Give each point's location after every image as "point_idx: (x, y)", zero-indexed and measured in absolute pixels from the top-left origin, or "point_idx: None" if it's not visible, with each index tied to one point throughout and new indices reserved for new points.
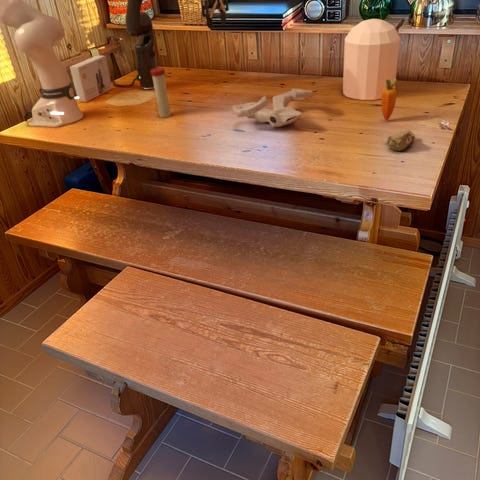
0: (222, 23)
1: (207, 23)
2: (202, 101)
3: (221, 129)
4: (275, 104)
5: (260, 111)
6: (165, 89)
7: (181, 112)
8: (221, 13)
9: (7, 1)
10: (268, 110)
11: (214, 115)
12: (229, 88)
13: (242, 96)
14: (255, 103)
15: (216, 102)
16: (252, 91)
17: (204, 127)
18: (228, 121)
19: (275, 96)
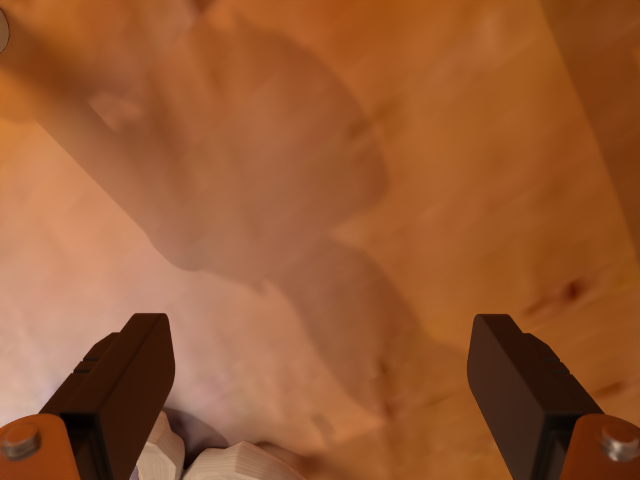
0: (474, 336)
1: (79, 374)
2: (232, 70)
3: (38, 351)
4: (219, 472)
5: (139, 462)
6: None
7: (60, 77)
8: (555, 447)
9: None
10: (169, 471)
11: (122, 248)
12: (466, 73)
13: (371, 217)
14: (153, 447)
15: (252, 152)
16: (450, 219)
17: (11, 290)
18: (107, 331)
19: (242, 476)
